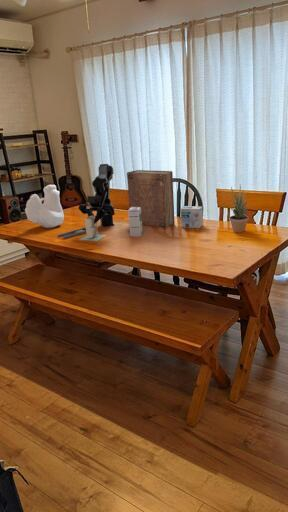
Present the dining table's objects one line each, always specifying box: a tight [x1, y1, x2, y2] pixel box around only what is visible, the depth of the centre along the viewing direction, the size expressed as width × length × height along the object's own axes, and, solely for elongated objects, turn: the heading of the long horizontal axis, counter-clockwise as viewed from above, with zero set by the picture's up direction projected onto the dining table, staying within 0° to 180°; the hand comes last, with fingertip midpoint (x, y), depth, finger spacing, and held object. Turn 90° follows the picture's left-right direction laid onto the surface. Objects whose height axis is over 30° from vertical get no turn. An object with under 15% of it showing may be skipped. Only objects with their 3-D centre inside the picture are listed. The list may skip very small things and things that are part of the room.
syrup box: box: [127, 207, 144, 237], centre depth 214 cm, size 6×6×14 cm
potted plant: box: [228, 184, 250, 233], centre depth 207 cm, size 10×10×25 cm
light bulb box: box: [180, 205, 204, 229], centre depth 224 cm, size 11×7×11 cm, turn 68°
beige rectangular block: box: [84, 215, 99, 238], centre depth 214 cm, size 7×3×10 cm, turn 158°
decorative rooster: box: [24, 184, 65, 229], centre depth 242 cm, size 25×16×25 cm, turn 129°
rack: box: [57, 227, 86, 240], centre depth 225 cm, size 18×7×2 cm, turn 133°
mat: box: [78, 234, 107, 242], centre depth 216 cm, size 11×11×1 cm
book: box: [126, 169, 176, 229], centre depth 232 cm, size 25×9×30 cm, turn 51°
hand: (91, 223), depth 214 cm, fingers closed on beige rectangular block, 3 cm apart
